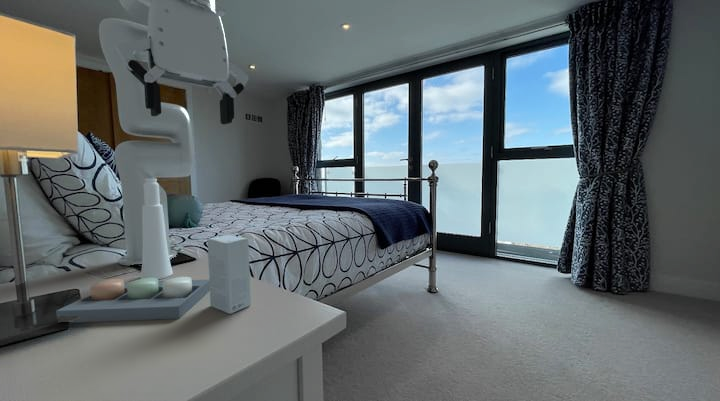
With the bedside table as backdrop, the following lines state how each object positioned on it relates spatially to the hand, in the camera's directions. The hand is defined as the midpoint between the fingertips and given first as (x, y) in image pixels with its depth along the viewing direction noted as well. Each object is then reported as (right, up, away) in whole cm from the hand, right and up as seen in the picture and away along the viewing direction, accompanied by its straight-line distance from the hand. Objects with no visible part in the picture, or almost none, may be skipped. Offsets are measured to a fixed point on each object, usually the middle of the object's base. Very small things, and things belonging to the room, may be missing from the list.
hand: (193, 119), depth 45 cm
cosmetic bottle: (-21, -30, +21) cm, 42 cm away
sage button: (-13, -29, +7) cm, 33 cm away
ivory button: (-7, -29, +7) cm, 31 cm away
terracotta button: (-19, -29, +7) cm, 35 cm away
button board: (-13, -31, +7) cm, 34 cm away
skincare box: (+3, -31, +6) cm, 32 cm away
